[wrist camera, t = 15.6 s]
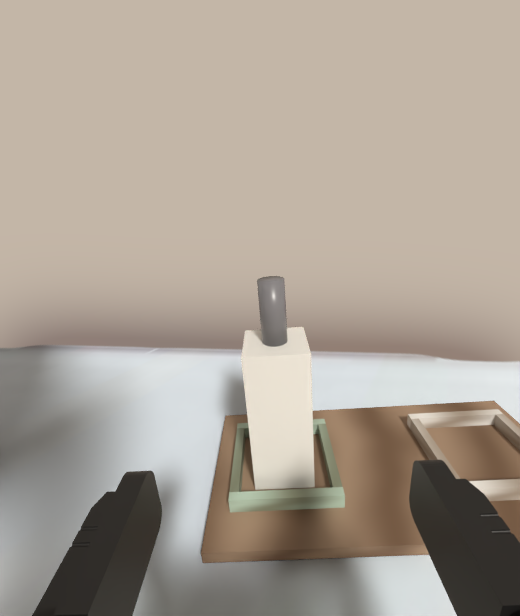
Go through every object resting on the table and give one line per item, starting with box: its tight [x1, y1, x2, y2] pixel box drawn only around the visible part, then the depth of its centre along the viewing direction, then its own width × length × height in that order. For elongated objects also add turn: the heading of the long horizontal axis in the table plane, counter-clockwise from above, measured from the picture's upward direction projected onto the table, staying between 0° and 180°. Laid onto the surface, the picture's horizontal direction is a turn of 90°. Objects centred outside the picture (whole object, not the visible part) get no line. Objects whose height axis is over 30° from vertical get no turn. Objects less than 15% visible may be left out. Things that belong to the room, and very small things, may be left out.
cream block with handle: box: [241, 276, 315, 490], centre depth 21 cm, size 4×5×14 cm
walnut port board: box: [201, 401, 520, 563], centre depth 23 cm, size 24×12×2 cm, turn 89°
